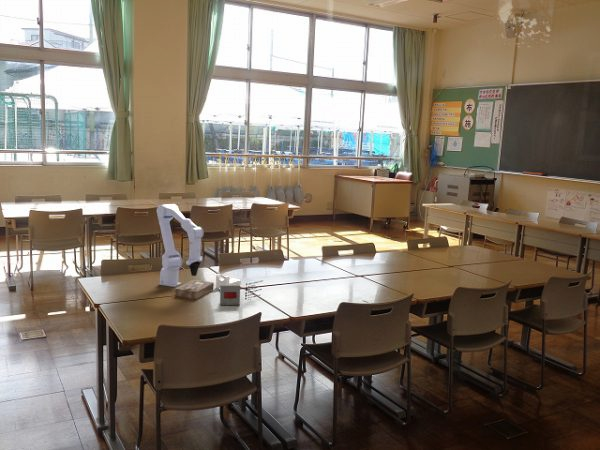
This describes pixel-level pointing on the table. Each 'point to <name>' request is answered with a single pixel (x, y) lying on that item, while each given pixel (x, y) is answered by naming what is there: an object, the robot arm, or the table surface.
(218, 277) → the bracket
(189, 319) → the table surface
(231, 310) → the table surface
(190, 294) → the band block
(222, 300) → the voltmeter
